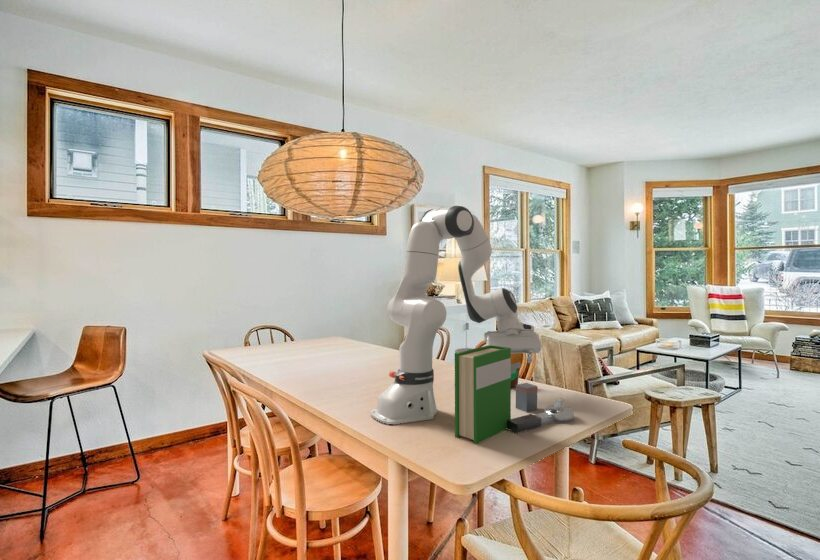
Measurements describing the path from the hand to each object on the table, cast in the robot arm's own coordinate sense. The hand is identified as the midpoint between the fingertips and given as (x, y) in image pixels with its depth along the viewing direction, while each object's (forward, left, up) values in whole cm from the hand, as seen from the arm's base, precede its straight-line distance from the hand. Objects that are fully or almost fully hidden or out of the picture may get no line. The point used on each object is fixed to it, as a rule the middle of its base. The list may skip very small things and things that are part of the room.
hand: (517, 362), depth 159 cm
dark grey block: (-5, -9, -14) cm, 17 cm away
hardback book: (-31, -17, -14) cm, 38 cm away
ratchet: (-11, -21, -14) cm, 28 cm away
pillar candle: (-1, +28, -14) cm, 31 cm away
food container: (+8, +15, -14) cm, 22 cm away
